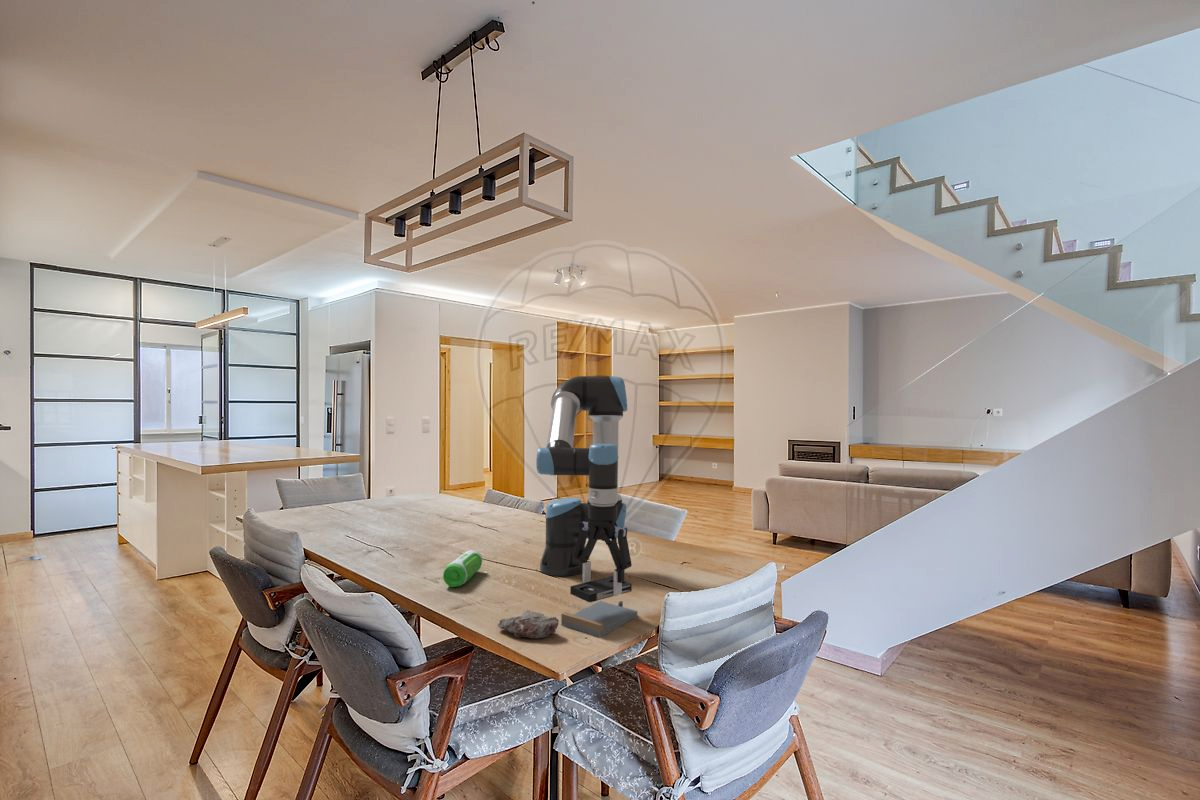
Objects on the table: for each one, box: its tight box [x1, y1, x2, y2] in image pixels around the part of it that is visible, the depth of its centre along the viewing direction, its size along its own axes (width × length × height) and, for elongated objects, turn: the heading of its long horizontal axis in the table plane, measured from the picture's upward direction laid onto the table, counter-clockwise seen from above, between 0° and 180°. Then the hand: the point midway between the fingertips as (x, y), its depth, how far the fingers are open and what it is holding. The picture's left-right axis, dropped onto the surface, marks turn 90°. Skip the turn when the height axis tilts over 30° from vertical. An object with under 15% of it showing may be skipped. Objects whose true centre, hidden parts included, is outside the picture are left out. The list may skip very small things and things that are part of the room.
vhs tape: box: [569, 575, 633, 603], centre depth 146 cm, size 14×8×2 cm, turn 130°
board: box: [560, 600, 638, 638], centre depth 146 cm, size 12×19×3 cm, turn 145°
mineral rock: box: [496, 610, 560, 640], centre depth 136 cm, size 15×8×4 cm, turn 59°
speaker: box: [442, 549, 483, 588], centre depth 177 cm, size 18×7×8 cm, turn 174°
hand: (601, 590), depth 146 cm, fingers closed on vhs tape, 9 cm apart
